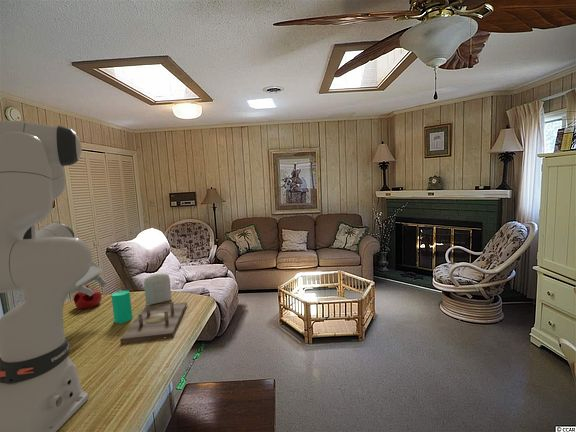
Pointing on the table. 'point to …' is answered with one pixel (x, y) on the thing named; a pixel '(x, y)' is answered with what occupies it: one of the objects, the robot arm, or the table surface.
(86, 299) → the pomegranate
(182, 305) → the candle stand
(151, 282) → the photo printer
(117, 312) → the candle
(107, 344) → the table surface
